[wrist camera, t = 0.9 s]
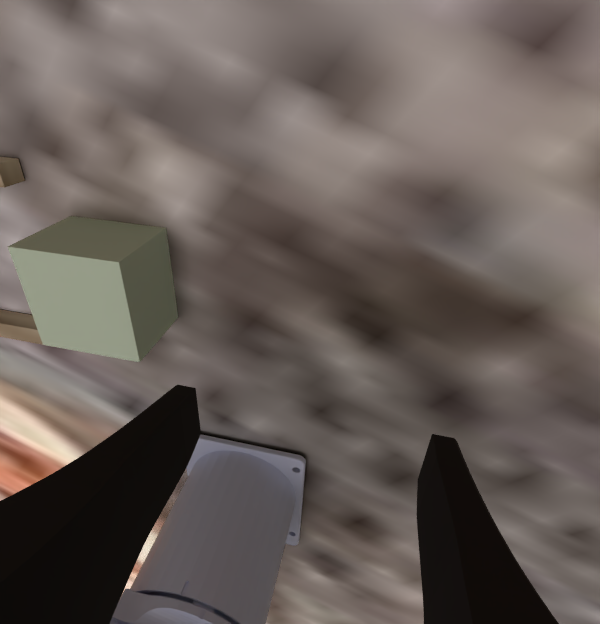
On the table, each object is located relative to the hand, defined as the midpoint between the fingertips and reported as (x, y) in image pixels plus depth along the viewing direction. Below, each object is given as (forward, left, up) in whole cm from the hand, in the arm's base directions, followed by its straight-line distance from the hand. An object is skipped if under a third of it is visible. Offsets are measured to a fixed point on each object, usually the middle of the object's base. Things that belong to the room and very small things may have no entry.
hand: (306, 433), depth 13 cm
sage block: (0, +11, -8) cm, 14 cm away
